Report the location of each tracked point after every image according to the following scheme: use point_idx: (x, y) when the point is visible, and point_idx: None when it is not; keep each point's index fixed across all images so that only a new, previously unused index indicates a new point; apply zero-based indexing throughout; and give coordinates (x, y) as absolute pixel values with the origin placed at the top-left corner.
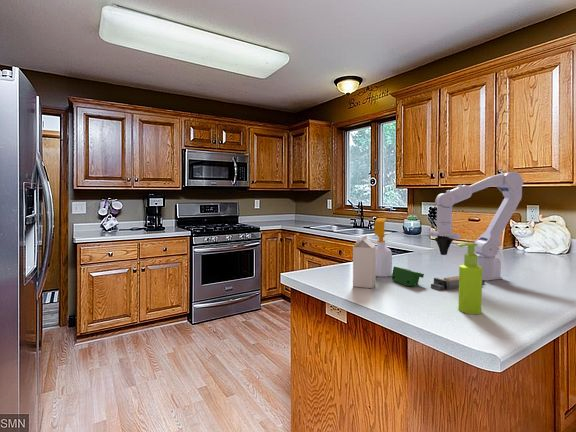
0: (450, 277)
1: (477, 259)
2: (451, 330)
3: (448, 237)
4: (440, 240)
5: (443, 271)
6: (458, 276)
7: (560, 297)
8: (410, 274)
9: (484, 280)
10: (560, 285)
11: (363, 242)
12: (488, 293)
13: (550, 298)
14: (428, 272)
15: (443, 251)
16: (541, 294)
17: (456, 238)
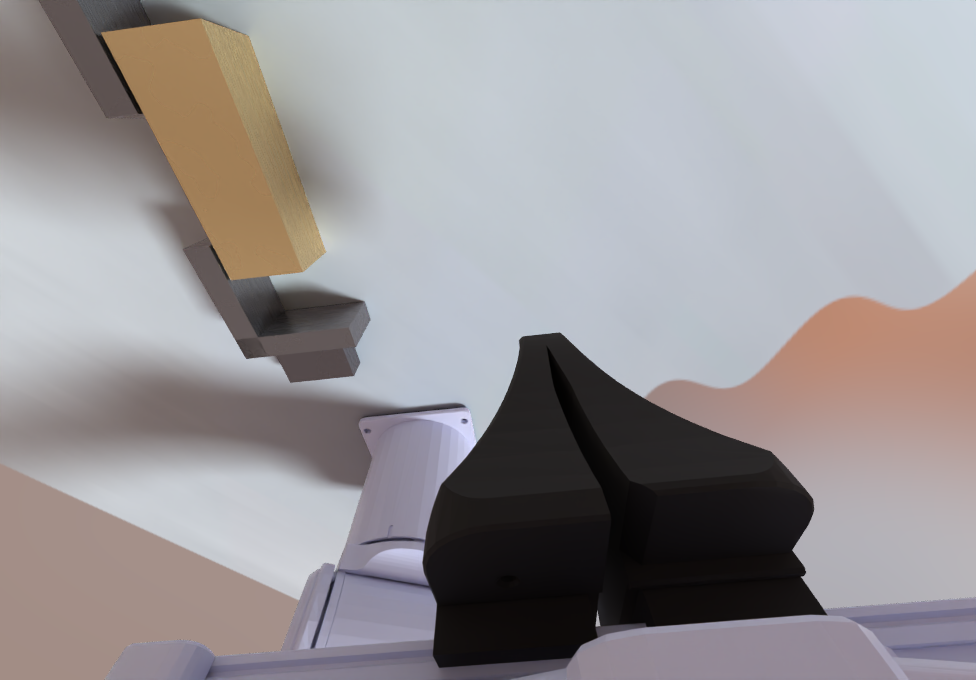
0: (229, 121)
1: (405, 518)
2: None
3: (437, 653)
4: (562, 467)
5: (642, 371)
6: (274, 230)
7: (55, 467)
8: None
9: (290, 380)
10: (266, 567)
11: None
12: (35, 221)
13: (19, 428)
14: (679, 261)
15: (517, 363)
16: (94, 443)
17: (123, 670)
